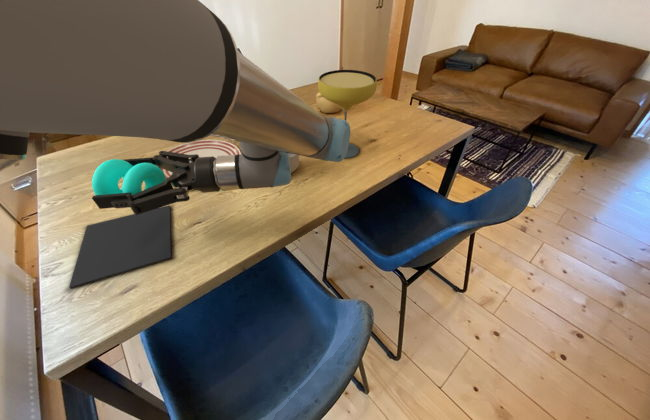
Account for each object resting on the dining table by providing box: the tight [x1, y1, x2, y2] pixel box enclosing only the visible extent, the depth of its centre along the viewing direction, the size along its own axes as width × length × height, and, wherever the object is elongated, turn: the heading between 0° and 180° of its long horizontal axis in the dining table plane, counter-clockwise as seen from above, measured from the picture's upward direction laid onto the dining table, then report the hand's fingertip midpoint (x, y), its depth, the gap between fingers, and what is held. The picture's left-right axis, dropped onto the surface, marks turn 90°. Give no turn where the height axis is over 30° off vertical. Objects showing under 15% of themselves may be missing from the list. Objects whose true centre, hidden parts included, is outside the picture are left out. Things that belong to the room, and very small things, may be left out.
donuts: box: [91, 158, 166, 196], centre depth 58 cm, size 10×10×10 cm
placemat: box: [68, 205, 172, 289], centre depth 68 cm, size 20×20×1 cm
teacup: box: [288, 153, 300, 174], centre depth 88 cm, size 14×11×8 cm
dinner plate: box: [156, 139, 242, 184], centre depth 92 cm, size 28×27×3 cm
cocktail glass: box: [317, 69, 378, 159], centre depth 92 cm, size 18×18×25 cm
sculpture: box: [315, 91, 342, 114], centre depth 124 cm, size 11×12×11 cm
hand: (111, 182), depth 57 cm, fingers closed on donuts, 12 cm apart
